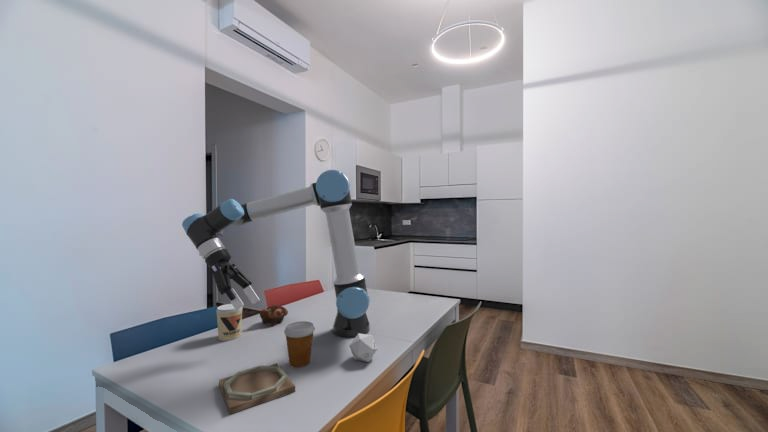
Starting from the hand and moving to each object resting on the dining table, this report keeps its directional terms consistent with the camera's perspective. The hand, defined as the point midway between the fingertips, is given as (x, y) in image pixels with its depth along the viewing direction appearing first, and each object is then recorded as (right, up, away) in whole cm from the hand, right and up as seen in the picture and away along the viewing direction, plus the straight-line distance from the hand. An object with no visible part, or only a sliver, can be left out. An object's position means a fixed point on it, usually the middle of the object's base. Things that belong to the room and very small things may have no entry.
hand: (248, 304), depth 104 cm
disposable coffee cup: (+19, -17, -5) cm, 26 cm away
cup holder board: (+11, -17, -20) cm, 28 cm away
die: (+39, -17, -3) cm, 43 cm away
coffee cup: (-15, -18, +17) cm, 29 cm away
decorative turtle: (-3, -18, +33) cm, 38 cm away
